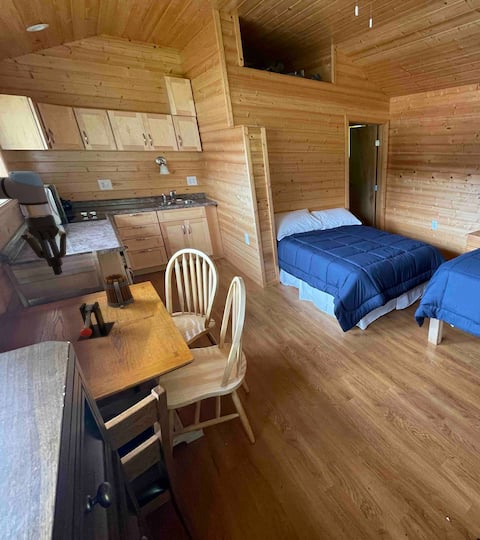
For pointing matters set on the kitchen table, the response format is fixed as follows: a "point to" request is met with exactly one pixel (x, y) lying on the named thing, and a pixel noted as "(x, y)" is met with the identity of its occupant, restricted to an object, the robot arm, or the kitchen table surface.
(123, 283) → the mug
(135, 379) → the kitchen table surface
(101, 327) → the lever base
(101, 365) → the kitchen table surface
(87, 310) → the lever
